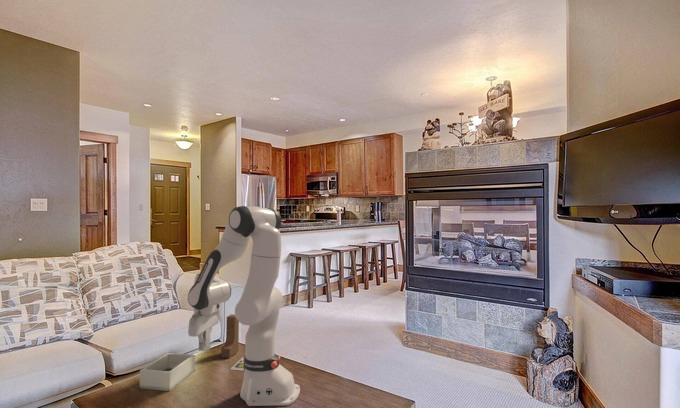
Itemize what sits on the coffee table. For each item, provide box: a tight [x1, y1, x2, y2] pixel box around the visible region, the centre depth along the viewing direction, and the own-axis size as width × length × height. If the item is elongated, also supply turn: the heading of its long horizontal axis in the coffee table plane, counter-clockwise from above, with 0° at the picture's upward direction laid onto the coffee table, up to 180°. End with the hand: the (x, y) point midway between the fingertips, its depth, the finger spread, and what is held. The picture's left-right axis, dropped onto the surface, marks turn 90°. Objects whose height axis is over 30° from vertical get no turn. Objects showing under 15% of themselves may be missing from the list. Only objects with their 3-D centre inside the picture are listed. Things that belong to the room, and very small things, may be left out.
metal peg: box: [198, 328, 211, 352], centre depth 156 cm, size 4×4×9 cm
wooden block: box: [220, 313, 240, 359], centre depth 170 cm, size 9×4×18 cm, turn 168°
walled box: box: [139, 352, 196, 392], centre depth 144 cm, size 13×17×7 cm
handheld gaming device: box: [230, 356, 244, 372], centre depth 160 cm, size 9×1×15 cm
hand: (204, 339), depth 156 cm, fingers closed on metal peg, 3 cm apart
